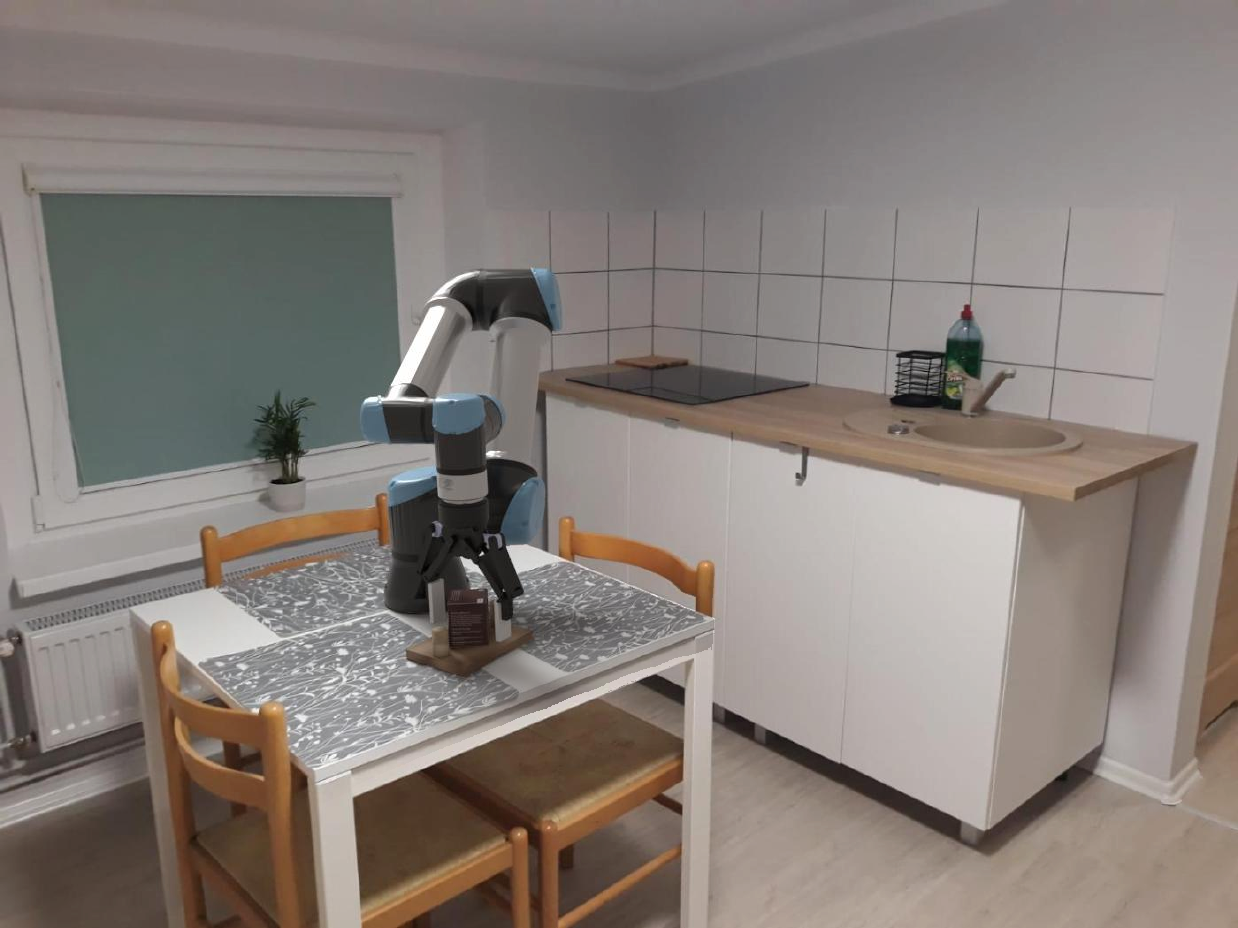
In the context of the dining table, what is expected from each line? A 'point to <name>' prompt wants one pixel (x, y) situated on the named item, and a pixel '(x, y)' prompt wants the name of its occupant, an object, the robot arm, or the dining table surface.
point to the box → (468, 618)
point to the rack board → (466, 649)
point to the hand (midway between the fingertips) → (470, 629)
